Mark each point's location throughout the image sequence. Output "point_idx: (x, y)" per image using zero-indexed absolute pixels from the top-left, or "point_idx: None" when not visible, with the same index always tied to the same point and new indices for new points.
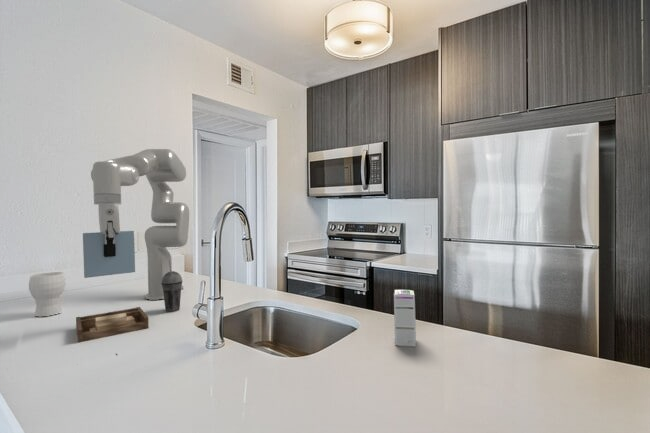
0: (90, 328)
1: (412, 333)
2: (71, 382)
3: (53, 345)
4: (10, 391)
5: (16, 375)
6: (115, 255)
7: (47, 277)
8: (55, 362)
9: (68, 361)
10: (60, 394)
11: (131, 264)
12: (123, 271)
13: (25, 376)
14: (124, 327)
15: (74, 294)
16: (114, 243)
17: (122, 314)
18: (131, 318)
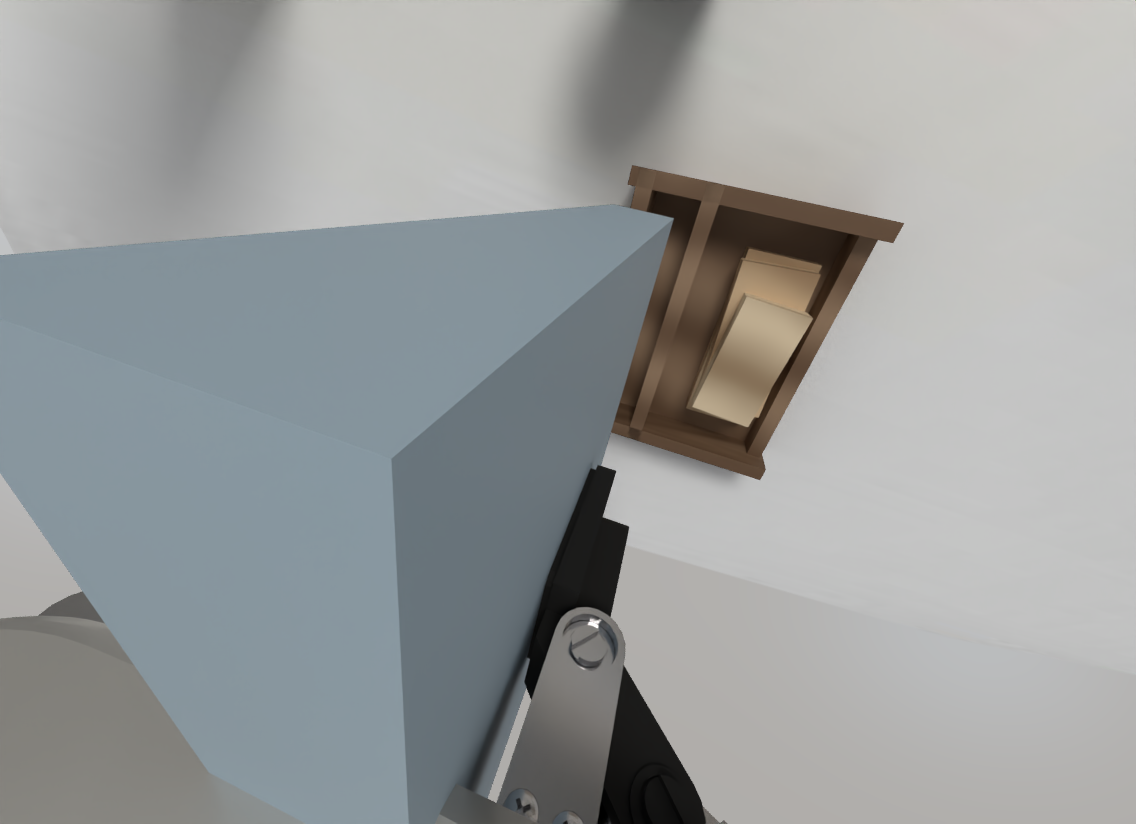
0: (689, 406)
1: None
2: (1055, 566)
3: (671, 478)
4: (922, 624)
5: (826, 588)
6: (614, 471)
7: None
8: (834, 526)
9: (867, 510)
10: (1103, 603)
11: (656, 263)
12: (641, 325)
13: (858, 584)
14: (827, 329)
15: (76, 230)
16: (619, 636)
17: (760, 319)
18: (792, 281)
